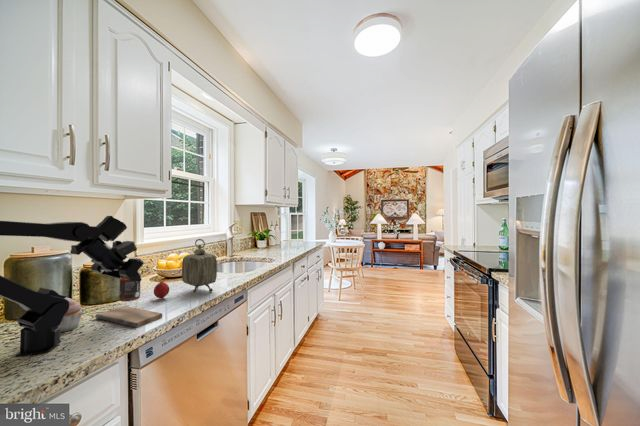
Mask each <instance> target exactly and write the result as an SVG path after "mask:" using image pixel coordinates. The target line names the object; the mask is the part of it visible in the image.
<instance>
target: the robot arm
mask: <svg viewBox="0 0 640 426" xmlns="http://www.w3.org/2000/svg"><path fill="white" fill-rule="evenodd" d="M127 229H128V227H127V225H126V223H125V222H123V221H121V220H119V219H118V218H115V217H114V216H112V215H106V216H105V217H104V219H102V221H101V222H98V224H97V225H96V226H95V225H94V226H92V225H89V224H88V223H87V222H82V221H62V222H59V221H58V222H51V223H49V222H48V223H44V222H43V223H40V222H25V221H10V220H0V236H2V237H3V236H5V237H6V236H7V237H36V238H39V237H40V238H47V239H53V240H60V241H66V242H75V243H76V242H79V243H77V244H72V245H70V248H71V249H70V252H69V253H70V254H71V255H78V256H79V255H81V254H82V253H83V254H84V255H86V256H87V257H88V258H89V259H90V262H91V263H93V264H92V265H91V267H90V270H91V271H92V272H93V273H95V274H101V275H103V276H108V277H111V278H116V279H120V276H121V277H122V278H126V279H130V280H133V281H137V282H140V281H142V276H141V277H140V275H139V273H140V272H139V270H140V269H141V267H142V266H143V265H144V261H143V260H142V259H141V258H135V257H134V258H133V257H132V258H129V259H128V260H126V259H127V258H128V256H127V255H129V254H131V253H133V252H136V251H137V250H138V247H137V246H136V244H135V241H130V240H126V241H125V240H124V241H121V240H116V239H117V238H119V236H120V235H121V234H123V233H124V232H125V230H126V231H127ZM109 241H110V242H112V247H111V246H110V245H109V244H107V243H106V242H109ZM125 260H126V261H125ZM138 272H139V273H138ZM140 283H141V282H140ZM0 297H1V298H3V299H6V300H9V301H10V302H13V303H16V304H17V305H18V306H20V308H22V309H23V310H24V311H25V312H24V313H23V314H22V315H21V316H19V318H18V319H16V322H17V324H18V326H19V327H22V329H20V334H19V335H20V336H19V337H20V341H19V343H20V344H19V346H20V347H19V351H18V352H17V353H15V355H14V356H15V357H22V356H23V357H24V356H30V355H37V354H46V353H49V352H51V351H52V350H53V349H54V348H55V347H57V346H58V345H59V344H60V343H62V340H61V332H60V328H58V326H59V325H60V323H61V321H62V319H63V317H64V315H65V314H66V313H67V311H68V309H69V301H68V300H66V299H64V298H68V296H66V295H63V294H59V293H58V292H57V291H55V290H53V289H50V288H45V287H39V288H38V290H37V291H36V290H33V289H31V288H29V287H26V286H25V285H22V284H20V283H18V282H16V281H13V280H11V279H9V278H6V277H4V276H2V275H0Z"/></svg>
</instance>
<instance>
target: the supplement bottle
mask: <svg viewBox="0 0 640 426" xmlns="http://www.w3.org/2000/svg"><path fill="white" fill-rule="evenodd" d="M138 273H139V275H140V277H141V278H142V275H141V273H140V272H139V271H138ZM141 281H142V280H141ZM141 281H140V282H137V281H133V280H130V279H126V278H122V277H121V276H120V278H119V294H118V295H119V301H120V302H132V301H136V300H139V299H140V298H141Z"/></svg>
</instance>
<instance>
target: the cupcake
mask: <svg viewBox="0 0 640 426" xmlns="http://www.w3.org/2000/svg"><path fill="white" fill-rule="evenodd" d="M64 299H66V300H68V301H69V309H68V311H67V313H66V314H65V315H64V317H63V319H62V321H61V323H60V325H59V326H58V328H60V333H63V332H68V331H71V330H74V329H76V328H78V327H79V325H80V322H81V319H82V315H83V314H84V312H85V310H86V309H85V308H84V309H83V308H82V305H81V304H80V302H78V301H74V300H73V299H72V298H70V297H66V298H64Z"/></svg>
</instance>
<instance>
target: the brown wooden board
mask: <svg viewBox="0 0 640 426" xmlns="http://www.w3.org/2000/svg"><path fill="white" fill-rule="evenodd" d="M94 317H95V318H96V319H99V320H104V321H108V322H112V323H115V324H121V325H124V326H129V327H133V328H139V327H142V326H143V325H144V326H145V325H147V324H149V323H151V322H154V321H157V320H160V319H162V318H163V313H161V312H157V311H152V310H146V309H143V308H142V309H141V308H136V307H132V306H129V305H128V306H127V305H123V306H119V307H116V308H113V309H110V310H107V311H106V310H105V311H103V312H100V313H96V314H95V315H94Z"/></svg>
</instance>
